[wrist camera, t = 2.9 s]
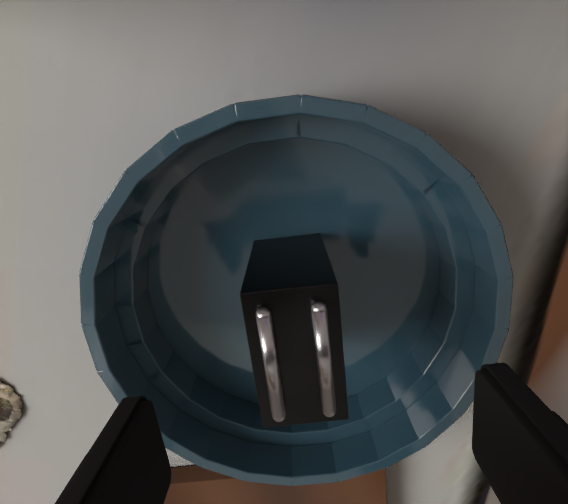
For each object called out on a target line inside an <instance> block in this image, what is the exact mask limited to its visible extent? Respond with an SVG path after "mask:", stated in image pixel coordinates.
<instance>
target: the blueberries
mask: <svg viewBox="0 0 568 504" xmlns="http://www.w3.org/2000/svg"><path fill="white" fill-rule="evenodd" d="M20 399H21V398H20V397H18V395H17V394H15V393H14V392H13V388H11V387H10V386H8V385H6V386H5V384H2V383H1V382H0V442H1V441H2V442H3V441H5V440H6V437H7V435H6V434H5V433H4V432H7V431H8V430H9V431H10V430H12V429H11V428H10V427H11V426H12V425H14V423H15V422H16V420H17V419H20V416H21V415H22V414H21V412H20V411H21V409H22V407H23V406H22V405H21V404H22V402H21V401H20Z"/></svg>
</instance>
